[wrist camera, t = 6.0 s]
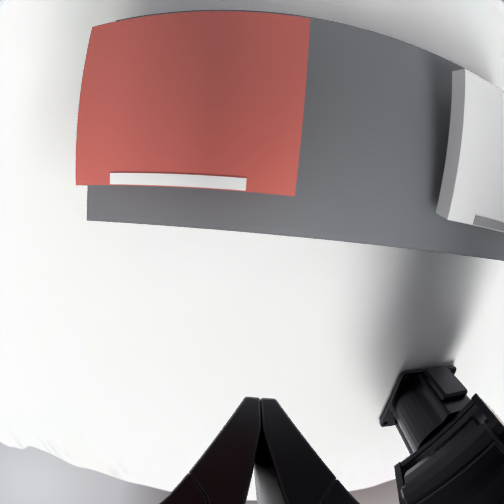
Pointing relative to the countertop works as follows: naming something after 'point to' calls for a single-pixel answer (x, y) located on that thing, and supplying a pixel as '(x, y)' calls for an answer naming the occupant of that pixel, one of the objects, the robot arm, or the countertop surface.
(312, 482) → the robot arm
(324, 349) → the countertop surface
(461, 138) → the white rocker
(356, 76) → the switch box
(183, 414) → the countertop surface
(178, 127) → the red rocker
